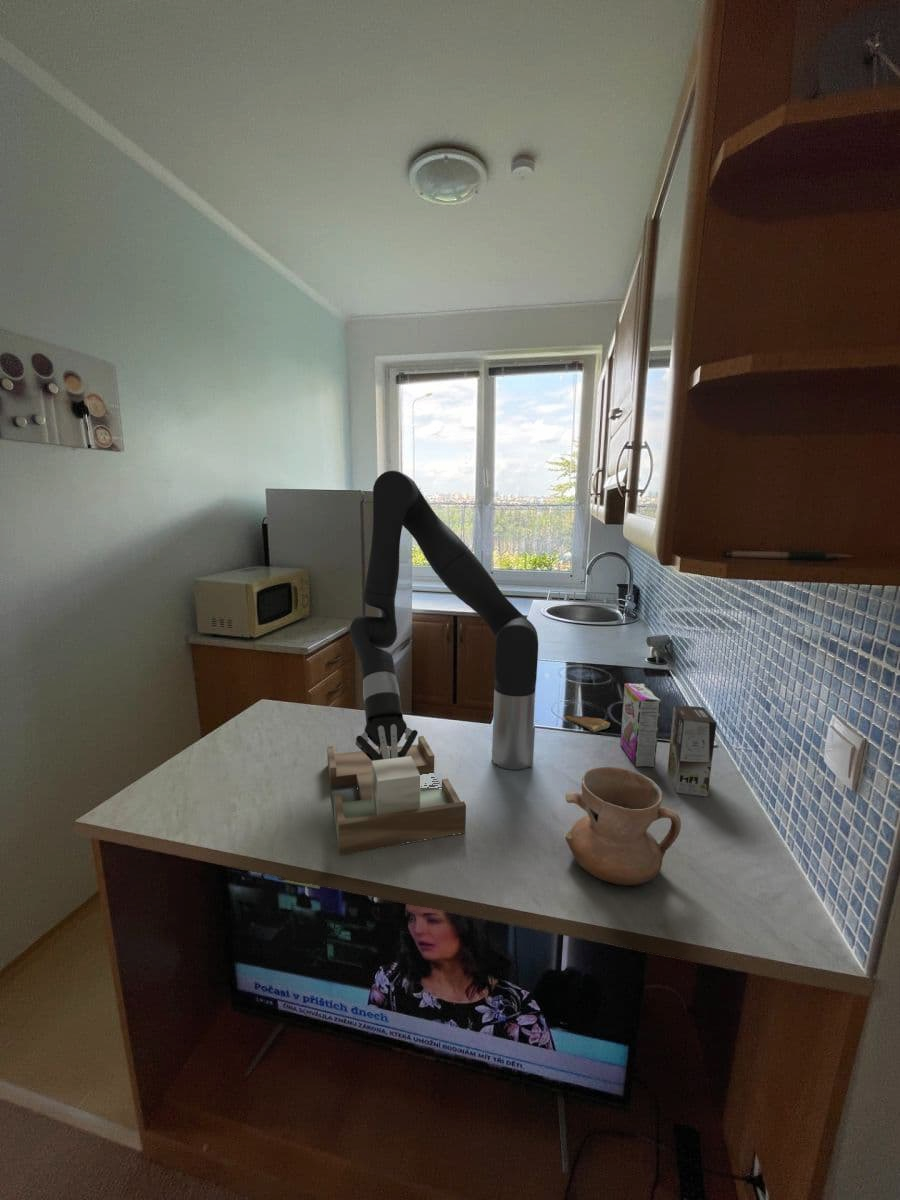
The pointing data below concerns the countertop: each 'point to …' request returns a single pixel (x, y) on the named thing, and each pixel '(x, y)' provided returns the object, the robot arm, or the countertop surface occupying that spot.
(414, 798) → the block
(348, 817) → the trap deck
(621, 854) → the ceramic jug
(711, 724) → the coffee box
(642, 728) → the candy bar box
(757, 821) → the countertop surface
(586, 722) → the shard
